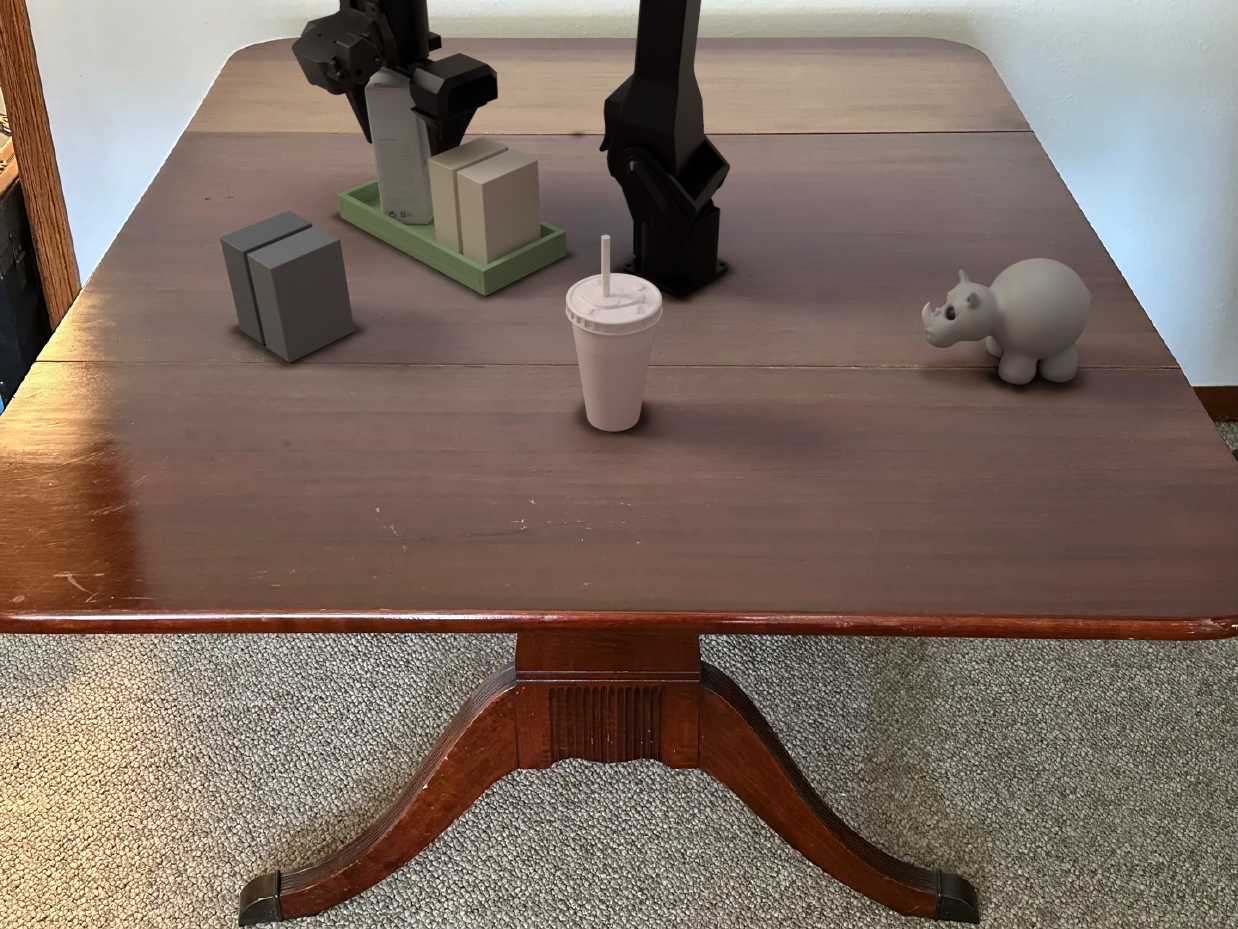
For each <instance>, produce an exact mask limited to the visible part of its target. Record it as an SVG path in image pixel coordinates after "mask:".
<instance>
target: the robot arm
mask: <svg viewBox="0 0 1238 929" xmlns="http://www.w3.org/2000/svg"><path fill="white" fill-rule="evenodd" d="M338 2H339V7H338V8H339V9H338V11H336V12H335V13H333V14H329V15H325V16H322V17H319V18H315V19H312V20H308V21H307V23H306V24H305V26H304V29H303V30H302V32H301V34H300V37H299V38H298V39H296V40H295V41H294V42H293V43H292V44H291V45H292V46H291V51H292V53H293V55H294V57H295V59H296V60H297V63H298V65H299V66H300V69H301V70H302V72H303V74H304V76H305V78H306V80H307V82H308V83H309V85H311V86H314V87H315V86H317V87H319V88H321V89H323V90H326V91H327V92H328V94H331V95H333V96H342V95H345V97H346V99H347V101H348V103H349V105H350V107H351V109H352V112H353V114H354V116H355V118H356V120H357V123H358V124H359V126H360V128H361V131H362V133H363V135H364V137H365V139H366V142H367V143H369V144H371V145H373V144H372V137H371V131H370V124H369V117H368V110H367V104H366V96H365V87H366V86H367V84H368V82H369V81H370V78H371V77H372V76H373V75H374V74H375V73H377V72H378V71H379V70H380V69H381V68H383V69H385V70H392V71H394V72H396V73H399V74H401V75H403V76H406V77H408V78H410V81H409V88H410V96H411V97H412V99H413V101H414V102H415V104H416V106H415V107H412V108H410V109H411V111H412V112H413V113H415V114H416V115H417V116H418V117H420V118H421V119H422V120H424V122H425V124H426V130H427V136H428V142H429V147H430V153H431V157H433V156H435V155H438V154H440V153H443V152H445V151H448V150H450V149H453V148H455V147H458V146H460V145H461V143H462V140H463V138H464V137H465V134H466V132H467V130H468V127H469V125H470V124H471V121H472V120H473V119H474V116H475V114H476V112H477V111H478V109H479V108H482V107H484V106H486V105H488V103H490V102H492V101H496V100H498V99H499V86H498V85H499V84H498V82H499V81H498V72H497V70H495V69H494V68H493V67H492V66H491V65H489V63H486V62H484V61H481V60H479V59H476V58H474V57H471V56H469V55H467V54H463V53H461V52H458V53H454V54H452V55H448V56H446V57H444V58H440V59H438V60H434V59H432V58H429V57H430V52H433V51H437V50H439V49H440V50H441V49H442V48H443V45H442V44H443V43H442V35H441V34H438V33H436V32H433V31H431V30H430V20H429V8H428V0H338ZM701 7H702V0H639V6H638V16H637V28H636V29H637V30H636V41H635V42H636V43H635V54H634V67H633V73H631V75H629V76H628V77H627V78H626V79H625V80H623V82H622V83H621V84H620V85H619V86H617V88H616V89H615V90H614V91H613V92H612V93H611V94H610V95H608V96H607V97H606V98H605V100H604V102H603V120H604V134H603V139H602V142H601V144H600V146H599V148H598V150H599V152H601V153H603V152H606V162H607V163H606V166H607V170H608V172H609V176H611V177H612V178H614V180H615V181H616V182H617V184H618V185H619V186H620V187H621V191H622V193H623V196H624V200H625V202H626V205H627V207H628V211H629V214H630V217H631V220H632V222H633V223H632V255H633V256H634V258H632V259H630V260H628V261H627V262H624V263H623V264H622V272H623V273H624V274H628V275H633V276H637V277H640V278H643V279H645V280H647V281H649V282H650V283H652V284H653V285H654V286H656V287H657V288H658V290H659V291H660V290H661V291H662V292H665V293H667V294H669V295H671V296H672V297H675V298H683V297H685V296H687V295H688V294H690V293H692V292H694V291H696V290H697V289H699V288H700V287H703V286H704V285H705V284H707V283H709V282H711V281H712V280H714V279H716V278H717V277H718V278H719V276H722V275H723V274H725V273H726V272H728V271H729V263H728V262H726V261H723V260H721V259H719V258H718V254H719V253H718V252H719V251H718V250H719V237H720V235H719V234H720V222H721V221H720V220H721V208H720V207H719V206H716V205H715V204H714V203H715V202H714V200H713V199H712V198H713V197H714V195H715V194H716V192H717V191H718V190H719V189H721V187H723V184H724V183H725V180H726V179H727V177H728V174H729V172H730V170H731V164H730V163H729V162H728V160H726V158H725V157H724V155H723V154H722V153H721V152H720V151H719V149H718V148H717V147H716V146H715V144H713V142H712V141H711V140H710V138H708V136H707V135H706V134H705V121H704V103H703V102H704V101H703V96H702V93H701V89H700V86H699V84H698V81H697V77H696V72H695V58H696V50H697V41H698V35H699V34H698V33H699V24H700V17H701V16H700V15H701Z"/></svg>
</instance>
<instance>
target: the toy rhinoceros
mask: <svg viewBox="0 0 1238 929" xmlns="http://www.w3.org/2000/svg"><path fill="white" fill-rule="evenodd" d="M958 279H959V280H958V282H957V284H956V286H955V287H953V289H951V290H949V291H948V292H947V295H946V300H945V301H944V303H943V305H942V307H940V308H939V307H936V308H935V311H933V312H932V311H931V301H928V302H927V303H926V304H925V305H924V307H923V309H922V311H921V319H922V322H923V326H922V327H923V328H922V333H923V337H924V338H925V340H926V342H927V343H928V344H930V345H931V346H933V347H935V348H938V349H946V348H951V347H952V346H954V345H955V344H958V343H959V342H978V341H981V340H983V339H985V350H986V351H987V353H989V354H990V355H991V356H993V357H995V358H998V359H1000V360H999V365H998V376H999V377H1000V379H1002V381H1005V382H1007V383H1009V384H1012V385H1025V384H1028V383H1029V382H1031V381H1032V380H1033V379H1034V377H1035V375H1036V371H1037V362H1038V361H1039V360H1040V362H1039V374H1040V375H1041V377H1042V378H1044V379H1046V380H1047V381H1050V382H1054V383H1066V382H1069V381H1071V380H1072V379H1073V378H1075V376H1076V374H1077V371H1078V366H1079V358H1078V353H1077V350H1076V342H1077V341H1078V340H1079V338H1080V337H1081V336H1082V334H1083V333H1084V331H1085V329H1086V326H1087V324H1088V322H1089V318H1090V311H1091V306H1092V304H1093V296H1092V294H1091V292H1090V290H1089V289H1088V288H1087V286H1086V284H1085V283H1084V281H1083V279H1082V277H1080V276H1079V274H1078V273H1077V272H1076V271H1075V270H1073V269H1072V268H1071V267H1070V266H1068V265H1066V264H1065V263H1062V262H1060V261H1058V260H1055V259H1051V258H1046V257H1033V258H1026V259H1023V260H1021V261H1018V262H1015V263H1013V264H1012V265H1010V266H1008V267H1007V268H1005V269H1004V270H1003V271H1002V272H1000V273H999V274H998V275H997V276H996V278H995V279H994V281H993V282H992V284H991V285H990V286H989V287H988V286H985V285H983V284H980V283H976V282H972V281H971V280H970V278H969V276H968V274H967V272H966V271H965V270H964V269H961V268H960V269H959V270H958Z"/></svg>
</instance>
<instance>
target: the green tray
mask: <svg viewBox="0 0 1238 929" xmlns="http://www.w3.org/2000/svg"><path fill="white" fill-rule="evenodd" d="M337 202H338V208H339V216H340V218H341V219H343V220H345V221H347V222H348V223H350V224H352V225H354V226H356V227H357V228H359V229H361V230H362V231H364V232H367V233H368V234H370V235H372V236H374V237H375V238H378V239H379V240H382V242H385V243H387V244H389V245H390V246H392V247H394V248H396V249H398V250H400V251H401V252H403V253H405V254H407V255H408V256H410V257H412V258H414V259H416V260H418V261H420V262H422V263H423V264H425V265H427V266H429V267H431V268H433V270H437V271H438V272H440V273H442V274H443V275H445V276H447V277H449V278H451V279H453V280H455V281H457V282H458V283H461V284H462V285H464V286H466V287H467V288H469V289H471V290H473V291H475V292H477V293H479V294H480V295H482V296H484V297H487V296H488V295H491V294H493V293H495V292H496V291H499V290H501V289H502V288H504V287H506V286H509V285H510V284H512V283H514V282H517V281H518V280H520V279H522V278H524V277H526V276H528V275H530V274H532V273H534V272H536V271H539V270H540V269H542V268H544V267H547V266H548V265H550V264H552V263H554V262H556V261H558V260H560V259H562V258H564V257H566V256H567V231H566V230H564V229H562V228H559V227H558V226H556V225H553V224H551V223H549V222H547V221H545V220H543V219H541V218H540V230H541V239H539V240H537V241H535V242H533V243H531V244H529V245H527V246H525V247H523V248H521V249H519V250H517V251H515V252H513V253H510V254H508V255H506V256H504V257H502V258H500V259H498V260H496V261H494V262H492V263H490V264H488V265H486V266H482V265H480V264H478V263H477V262H475V261H473V260H471V259H469V258H467V257H465V256H463V255H461V254H459V253H458V252H456V251H454V250H452V249H450V248H448V247H446V246H444V245H442V244H440V243H439V242H437V241H436V234H435V224H434V216H433V218H432V220H431V222H430V223H429V224H403V223H401V222H399V221H397V220H395V219H393V218H391V217H389V216H387V215H385V214H384V213H382V207H381V201H380V194H379V186H378V179H377V177H376V178H374V179H371V180H369V181H367V182H364V183H361V184H358V185H356V186H354V187H351V188H349V189H347V190H344V191H341V192H339V193H337Z"/></svg>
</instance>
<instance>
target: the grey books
mask: <svg viewBox="0 0 1238 929" xmlns="http://www.w3.org/2000/svg"><path fill="white" fill-rule="evenodd" d="M219 240H220V245H221V249H222V253H223V258H224V262H225V268H226V271H227V276H228V280H229V284H230V289H231V294H232V297H233V298H232V299H233V302H234V307H235V312H236V315H237V319H238V324H239V329H240V331H241V332H243V333H244V334H246V335H247V336H249V337H251V338H252V339H253V340H254V341H256V342H258V343H259V344H260V345H265V347H266V349H269V350H270V351H271V352H272V353H274V354H276V356H278V357H280V358H281V359H282V360H284V361H286V362H287V363H289V364H290V363H293V362H294V361H296V360H298V359H301V358H302V357H304V356H305V357H306V356H307V355H309V354H311V353H313V352H315V351H317V350H319V349H321V348H323V347H325V346H327V345H329V344H331V343H334V342H335V341H338V340H340V339H341V338H344V337H346V336H348V335H350V334H352V333H354V332H355V327H354V319H353V313H352V312H353V311H352V307H351V300H350V294H349V287H348V280H347V274H346V268H345V262H344V255H343V247H342V241H341V239H340V238H339V237H337V236H336V235H333V234H332V233H331V232H328V231H327V230H325V229H324V228H322V227H320V226H318V225H314V226H313V223H312V222H311V221H309V220H307V219H305V218H303V217H302V216H300V215H298V214H296V213H294V212H293V211H291V210H289V209H288V210H285V211H283V212H281V213H278V214H276V215H273V216H270V217H268V218H265V219H263V220H261V221H258V222H255V223H253V224H250V225H248V226H245V227H243V228H240V229H238V230H235V231H233V232H230V233H228V234H226V235H223V236H221V237H219Z"/></svg>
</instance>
